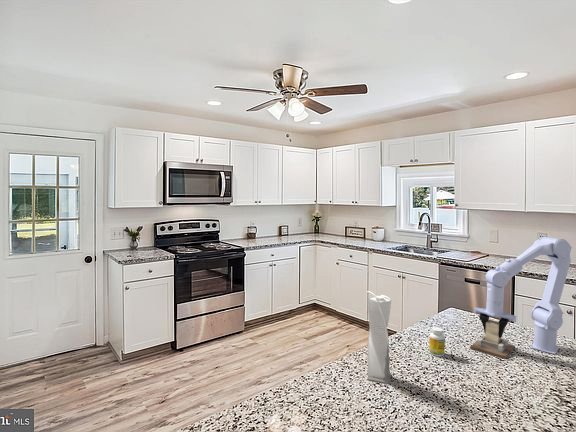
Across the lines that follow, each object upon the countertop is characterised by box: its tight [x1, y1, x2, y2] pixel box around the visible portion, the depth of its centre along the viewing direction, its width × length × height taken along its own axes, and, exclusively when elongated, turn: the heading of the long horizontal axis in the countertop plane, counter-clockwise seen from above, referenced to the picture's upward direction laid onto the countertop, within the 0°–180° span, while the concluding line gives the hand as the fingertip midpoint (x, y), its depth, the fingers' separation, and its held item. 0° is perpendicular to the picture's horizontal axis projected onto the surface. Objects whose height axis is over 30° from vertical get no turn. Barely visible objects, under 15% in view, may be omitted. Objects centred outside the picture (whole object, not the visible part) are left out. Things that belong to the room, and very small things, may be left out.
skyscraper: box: [366, 290, 392, 385], centre depth 117 cm, size 8×8×28 cm
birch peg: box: [484, 319, 502, 344], centre depth 140 cm, size 4×4×8 cm
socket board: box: [469, 333, 516, 360], centre depth 140 cm, size 14×12×4 cm
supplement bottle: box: [428, 326, 446, 358], centre depth 135 cm, size 5×5×10 cm
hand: (493, 334), depth 140 cm, fingers closed on birch peg, 4 cm apart
